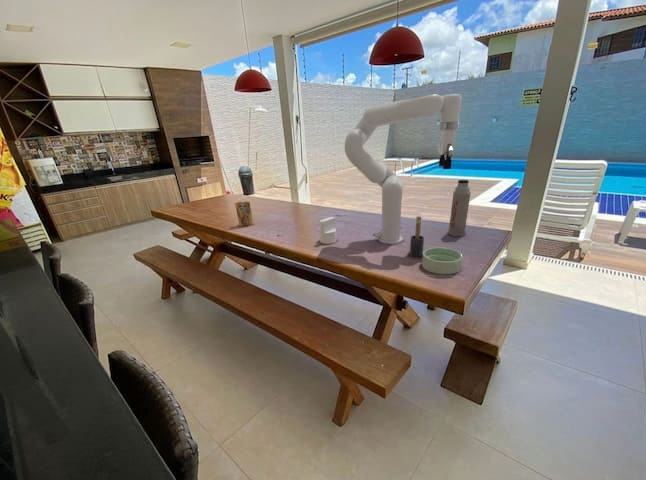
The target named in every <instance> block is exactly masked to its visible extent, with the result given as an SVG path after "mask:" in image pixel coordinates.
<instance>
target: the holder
mask: <svg viewBox="0 0 646 480" xmlns="http://www.w3.org/2000/svg"><path fill="white" fill-rule="evenodd" d="M424 245H425V237H424V236H423V235H420V239H415V234H414V235H411V236H410V241H409V257H412V258H421V257H423V252H424V247H425V246H424Z"/></svg>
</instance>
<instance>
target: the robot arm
mask: <svg viewBox="0 0 646 480" xmlns="http://www.w3.org/2000/svg"><path fill="white" fill-rule="evenodd" d="M462 100H463V99H462V94H460V93H448V94H445V95H440V94H436V93H434V94H433V93H432V94H427V95H424V96H420V97H415V98H410V99H401V100H396V101H392V102H387V103H381V104H377V105H372V106H369V107H367V108H366V109H365V110H364V111H363V113H362V114H363V115H362V117H361V118H360V120H359V122H358V123H357V124H356V126H355V127H354V128H353V129H352V130H350V131H349V132H348V133H347V135H346V136H345V140H344V153H345V156H346V158H347V159H348V161H349V162H350V163H351V164H352V165H353V166H354V167H355V168H356V169H357V170H358V171H359V172H360V173H361V174H362V175H363V176H364V177H365V178H367V180H368V181H369V182H370V183H372V184H377V185H378V186H379V187H380V188H381V230H380V231H378V232H375V231H374V232H372V237H374V238H378V239H377V240H378V242H379V243H382V244H385V245H386V244H387V245H396V244H399V243H402V242H403V241H404V238H403V236H401V222H402V203H403V201H402V200H403V181H402V180H401V178H400V177H399V176H398V175H397V174H396V173H395V172H394V171H393V170H392V169H391V168H389V167H388V166H387V164H386V163H384V162H382V161H380V160H376V159H375V158H374V157H373V156H372V155H371V154H369V152H368V151H366V149H364V145H365V144H366V143H367V142H368V140H369V139H370V138H371V136H372V135H373V134H374V132H375V131H376V130H377V128H379V127H383V126H387V125H388V126H389V125H393V124H397V123H403V122H406V121H409V120H413V119H418V118H419V119H420V118H422V117H428V116H435V115H438V114H440V121H439V131H440V135H439V142H438V143H439V144H438V149H437V153H438V154H439V160H438V167H442V170H452V161H453V154H454V149H455V142H456V141H455V140H456V131H459V124H460V122H459V121H460V115H461V114H460V113H461V106H462Z"/></svg>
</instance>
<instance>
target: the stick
mask: <svg viewBox="0 0 646 480" xmlns="http://www.w3.org/2000/svg"><path fill="white" fill-rule="evenodd" d="M421 225H422V216H420V215H419V216H418V215H417V216H416V218H415V233H414V235H415V239H420V236H421Z"/></svg>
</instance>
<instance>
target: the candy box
mask: <svg viewBox="0 0 646 480" xmlns="http://www.w3.org/2000/svg"><path fill="white" fill-rule="evenodd" d="M234 205H235V210H236V216H237V221H238V225H239V227H243V226H251V225H254V220H253V214H252V208H251V202H250V200H249V199H248V200H240V201H235V202H234Z"/></svg>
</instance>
